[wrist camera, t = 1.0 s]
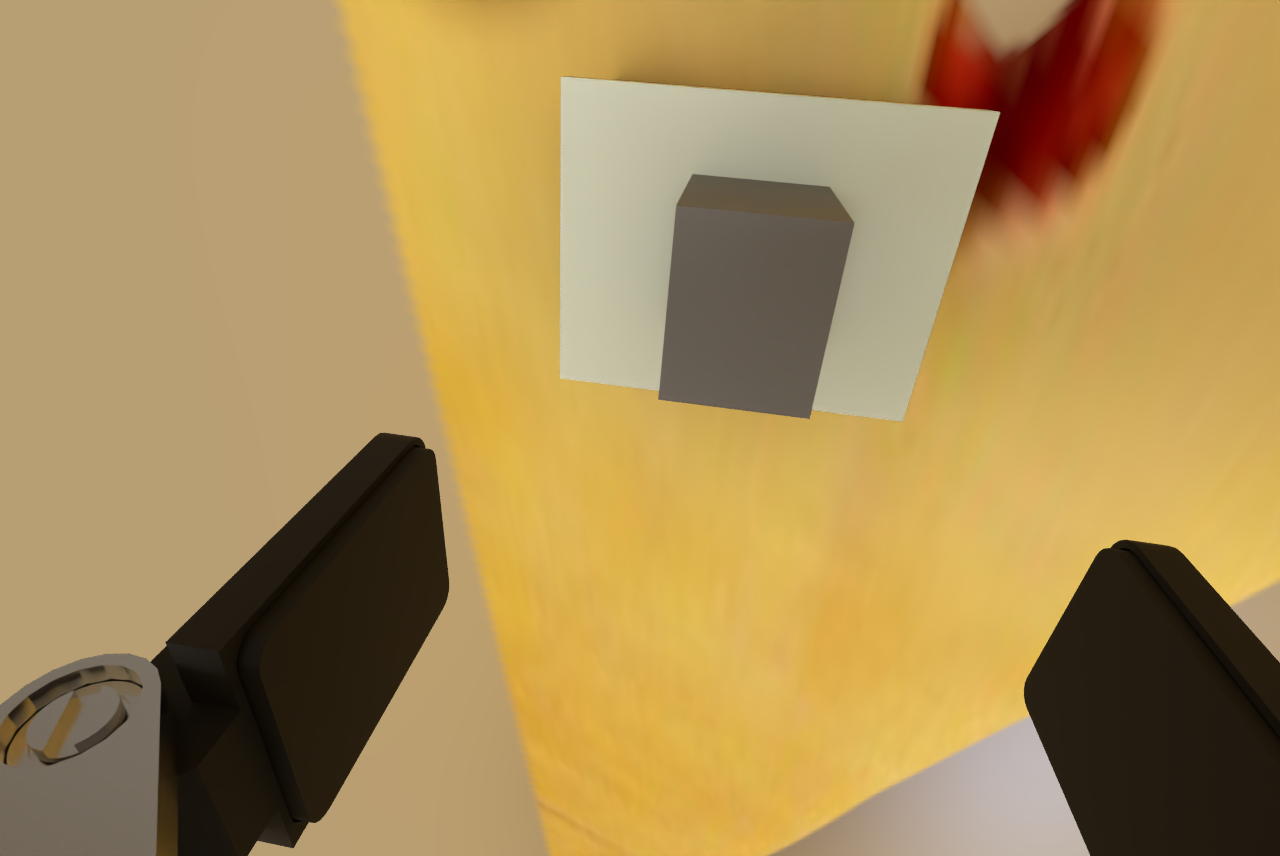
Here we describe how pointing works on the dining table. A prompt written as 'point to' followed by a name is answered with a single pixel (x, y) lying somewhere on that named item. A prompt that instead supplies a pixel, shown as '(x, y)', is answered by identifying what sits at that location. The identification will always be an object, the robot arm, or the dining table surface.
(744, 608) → the dining table surface
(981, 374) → the dining table surface
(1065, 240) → the dining table surface
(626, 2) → the dining table surface
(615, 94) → the lid
